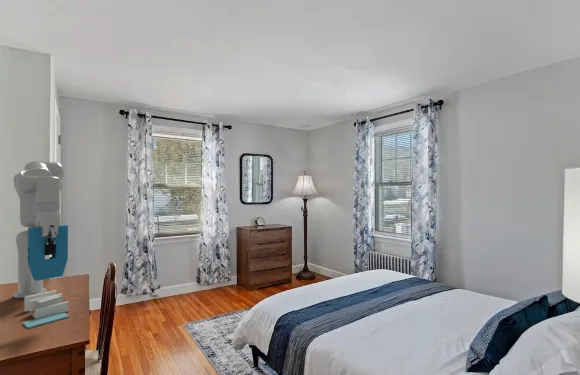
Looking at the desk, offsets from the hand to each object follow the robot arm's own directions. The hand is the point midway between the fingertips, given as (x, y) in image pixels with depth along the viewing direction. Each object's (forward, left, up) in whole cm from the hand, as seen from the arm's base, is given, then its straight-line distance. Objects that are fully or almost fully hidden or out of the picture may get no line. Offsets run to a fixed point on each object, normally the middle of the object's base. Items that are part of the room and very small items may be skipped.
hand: (47, 253), depth 122 cm
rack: (-12, +3, -26) cm, 29 cm away
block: (0, 0, -10) cm, 10 cm away
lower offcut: (-9, +3, -27) cm, 28 cm away
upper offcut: (-8, +3, -23) cm, 25 cm away
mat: (0, 0, -26) cm, 26 cm away
